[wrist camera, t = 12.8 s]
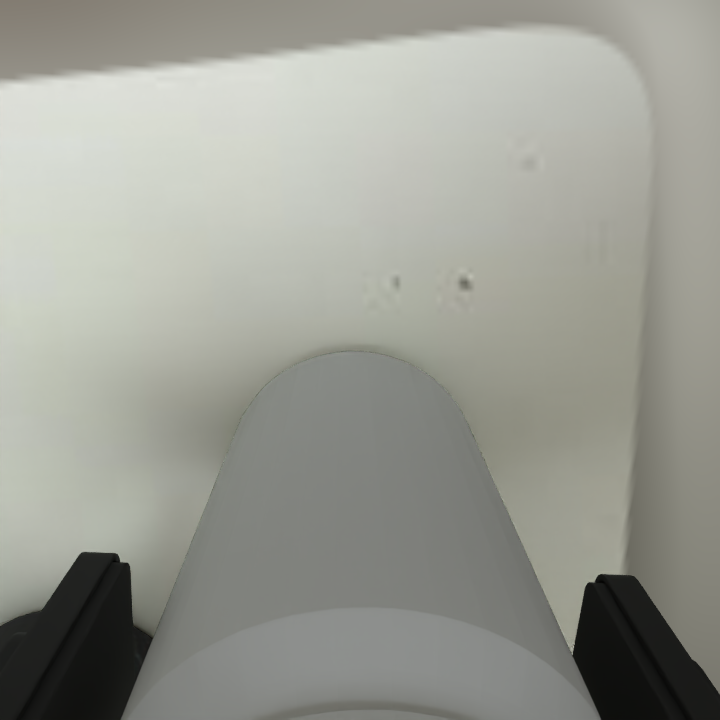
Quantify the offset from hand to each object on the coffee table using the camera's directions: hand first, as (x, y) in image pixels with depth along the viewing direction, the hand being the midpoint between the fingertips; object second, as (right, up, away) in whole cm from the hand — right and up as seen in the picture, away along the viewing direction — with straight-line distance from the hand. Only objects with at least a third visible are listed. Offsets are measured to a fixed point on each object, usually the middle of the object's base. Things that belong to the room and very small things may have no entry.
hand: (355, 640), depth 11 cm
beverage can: (0, +2, +7) cm, 7 cm away
